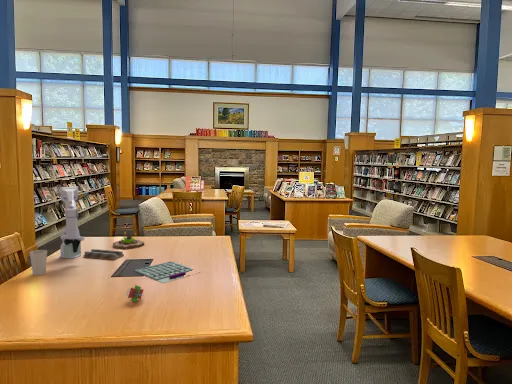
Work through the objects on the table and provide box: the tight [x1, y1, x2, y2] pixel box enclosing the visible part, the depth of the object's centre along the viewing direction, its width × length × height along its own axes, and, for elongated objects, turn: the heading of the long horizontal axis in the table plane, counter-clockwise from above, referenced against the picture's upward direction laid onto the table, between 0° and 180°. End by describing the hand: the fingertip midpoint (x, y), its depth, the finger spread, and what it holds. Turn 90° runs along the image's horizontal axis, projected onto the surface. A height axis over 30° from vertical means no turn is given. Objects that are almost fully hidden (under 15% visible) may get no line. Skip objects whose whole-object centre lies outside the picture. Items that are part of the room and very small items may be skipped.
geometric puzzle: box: [126, 284, 145, 303], centre depth 160 cm, size 7×7×8 cm
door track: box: [82, 248, 125, 261], centre depth 230 cm, size 22×10×3 cm, turn 76°
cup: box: [29, 249, 48, 276], centre depth 195 cm, size 8×8×12 cm
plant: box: [112, 230, 145, 250], centre depth 259 cm, size 20×20×11 cm
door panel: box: [63, 241, 82, 259], centre depth 210 cm, size 10×3×7 cm, turn 166°
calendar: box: [134, 261, 193, 284], centre depth 202 cm, size 27×28×2 cm
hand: (72, 252), depth 210 cm, fingers closed on door panel, 3 cm apart
